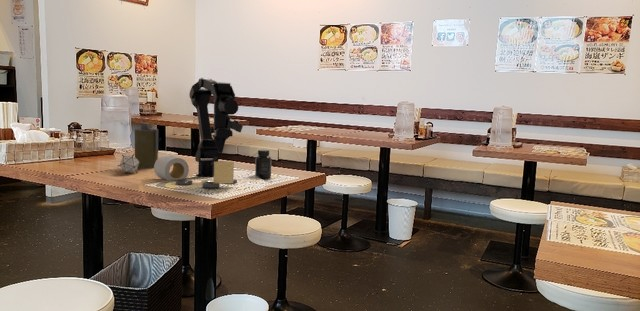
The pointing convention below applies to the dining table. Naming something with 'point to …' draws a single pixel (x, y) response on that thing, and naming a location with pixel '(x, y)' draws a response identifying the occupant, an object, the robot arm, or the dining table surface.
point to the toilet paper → (166, 162)
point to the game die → (129, 163)
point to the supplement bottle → (263, 165)
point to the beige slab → (221, 174)
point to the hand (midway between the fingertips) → (220, 152)
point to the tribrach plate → (189, 182)
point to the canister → (146, 145)
